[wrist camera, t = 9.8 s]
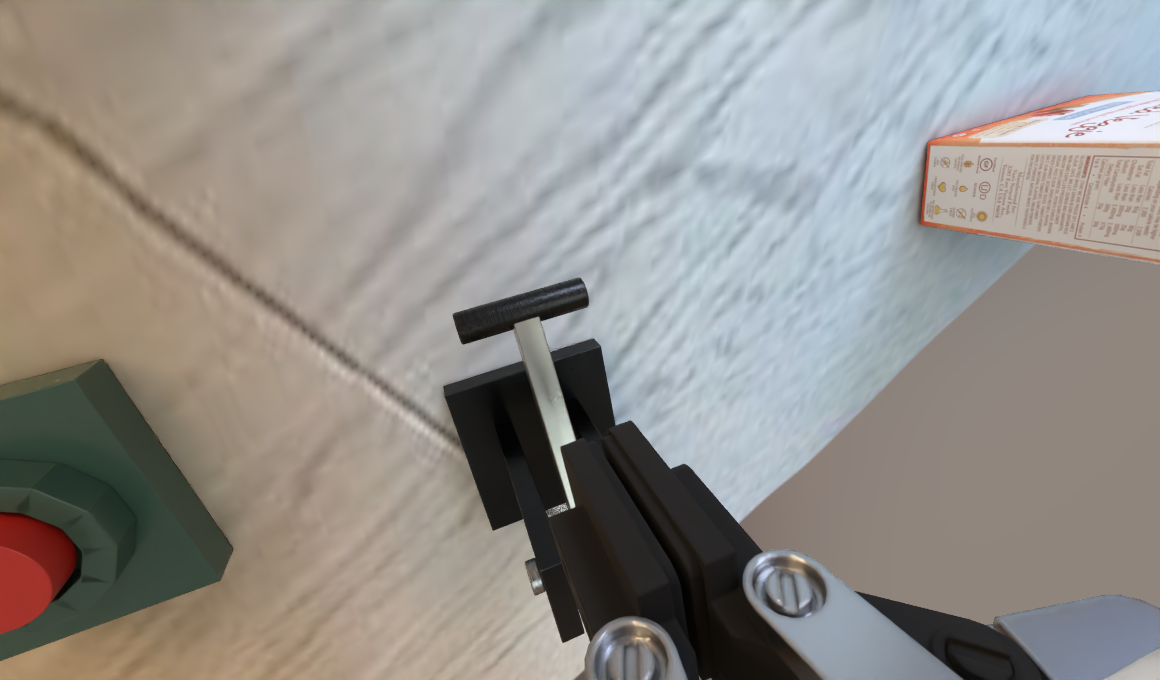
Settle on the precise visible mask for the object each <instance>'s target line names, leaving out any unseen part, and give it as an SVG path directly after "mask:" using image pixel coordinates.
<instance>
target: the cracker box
mask: <svg viewBox="0 0 1160 680" xmlns="http://www.w3.org/2000/svg"><path fill="white" fill-rule="evenodd" d="M920 224H921V225H923V226H930V227H936V228H942V229H948V230H955V231H961V232H966V233H972V234H978V235H983V236H989V237H995V238H1002V239H1008V240H1014V241H1020V242H1026V243H1032V244H1038V245H1044V246H1050V247H1056V248H1061V249H1067V250H1073V251H1080V252H1085V253H1091V254H1097V255H1103V256H1108V257H1115V258H1120V259H1127V260H1132V261H1138V262H1144V263H1150V264H1156V265H1160V91H1149V92H1133V93H1118V94H1103V95H1090V96H1085V97H1082V98H1078V99H1075V100H1072V101H1068V102H1064V103H1061V104H1057V105H1054V106H1050V107H1047V108H1043V109H1040V110H1036V111H1033V112H1029V113H1026V114H1022V115H1019V116H1015V117H1012V118H1008V119H1004V120H1001V121H997V122H994V123H990V124H987V125H983V126H980V127H976V128H973V129H969V130H966V131H962V132H959V133H955V134H952V135H948V136H944V137H941V138H937V139H934V140H931V141H929V142H928V148H927V161H926V170H925V181H924V191H923V200H922V210H921V223H920Z"/></svg>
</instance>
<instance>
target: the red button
mask: <svg viewBox="0 0 1160 680" xmlns="http://www.w3.org/2000/svg"><path fill="white" fill-rule="evenodd" d="M76 564H77V552H76V548H75V546H74V544H73V542H72V541H71V539H70V538H69V537H68V536H67V535H66V534H65V533H64V532H63V531H62V530H61V529H59V528H58V527H56V526H53V525H51V524H48V523H46V522H43V521H41V520H38V519H35V518H33V517H30V516H28V515H25V514H19V513H11V512H0V634H1V633H5V632H9V631H12V630H15V629H17V628H20V627H22V626H24V625H26V624H28V623H29V622H31V621H32V620H34V619H35V618H37V617H38V616H39V615H40V614H42V613H43V611H44V610H45V609H46V608H47V607H48V605H49V604H50V603H51V601H52V600H53V599H54V597H55V596H56V595H57V594H58V592H59V591H60V590H61V588H62V587H63V586H64V584H65V583H66V582H67V580H68V579H69V578H70V576H71V575H72V573H73V572H74V570H75V567H76Z"/></svg>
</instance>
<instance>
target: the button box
mask: <svg viewBox="0 0 1160 680" xmlns="http://www.w3.org/2000/svg"><path fill="white" fill-rule="evenodd" d="M0 512H11V513H19V514H25V515H28V516H30V517H33V518H35V519H38V520H41V521H43V522H46V523H48V524H51V525H53V526H56V527H58V528H59V529H61V530H62V531H63V532H64V533H65V534H66V535H67V536H68V537H69V538H70V539H71V541H72V542H73V544H74V546H75V548H76V552H77V564H76V567H75V570H74V572H73V573H72V575H71V576H70V578H69V579H68V580H67V582H66V583H65V584H64V586H63V587H62V588H61V590H60V591H59V592H58V594H57V595H56V596H55V597H54V599H53V600H52V601H51V603H50V604H49V605H48V607H47V608H46V609H45V610H44V611H43V613H42V614H40V615H39V616H38V617H37V618H35V619H34V620H32V621H31V622H29V623H28V624H26V625H24V626H22V627H20V628H17V629H15V630H12V631H9V632H5V633H1V634H0V661H2V660H4V659H7V658H10V657H13V656H15V655H18V654H21V653H24V652H26V651H29V650H32V649H35V648H37V647H40V646H43V645H46V644H48V643H51V642H54V641H56V640H59V639H62V638H65V637H67V636H70V635H73V634H76V633H78V632H81V631H84V630H87V629H89V628H92V627H95V626H98V625H100V624H103V623H106V622H109V621H111V620H114V619H117V618H120V617H122V616H125V615H128V614H130V613H133V612H136V611H139V610H141V609H144V608H147V607H150V606H152V605H155V604H158V603H161V602H163V601H166V600H169V599H172V598H174V597H177V596H180V595H183V594H185V593H188V592H191V591H194V590H196V589H199V588H202V587H205V586H207V585H210V584H213V583H215V582H218V581H220V580H221V578H222V576H223V573H224V571H225V568H226V566H227V564H228V561H229V559H230V556H231V554H232V551H233V548H232V547H231V545H230V544H229V542H228V541H227V539H226V538H225V537H224V535H223V534H222V532H221V531H220V529H219V528H218V526H217V525H216V523H215V522H214V521H213V519H212V518H211V516H210V515H209V513H208V512H207V510H206V509H205V507H204V506H203V505H202V503H201V502H200V500H199V499H198V497H197V496H196V494H195V493H194V491H193V490H192V488H191V487H190V486H189V484H188V483H187V481H186V480H185V478H184V477H183V475H182V474H181V472H180V471H179V470H178V468H177V467H176V465H175V464H174V462H173V461H172V459H171V458H170V456H169V455H168V454H167V452H166V451H165V449H164V448H163V446H162V445H161V443H160V442H159V440H158V439H157V437H156V436H155V435H154V433H153V432H152V430H151V429H150V427H149V426H148V424H147V423H146V421H145V420H144V419H143V417H142V416H141V414H140V413H139V411H138V410H137V408H136V407H135V405H134V404H133V403H132V401H131V400H130V398H129V397H128V395H127V394H126V392H125V391H124V389H123V388H122V386H121V385H120V384H119V382H118V381H117V379H116V378H115V376H114V375H113V373H112V372H111V370H110V369H109V368H108V366H107V365H106V363H105V362H104V360H103V359H100V360H96V361H92V362H89V363H85V364H81V365H77V366H73V367H70V368H66V369H62V370H58V371H55V372H51V373H47V374H43V375H40V376H36V377H32V378H28V379H25V380H21V381H17V382H13V383H10V384H6V385H2V386H0Z"/></svg>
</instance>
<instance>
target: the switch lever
mask: <svg viewBox="0 0 1160 680" xmlns="http://www.w3.org/2000/svg"><path fill="white" fill-rule="evenodd" d="M588 305H589V297H588V293H587V289H586V287H585V284H584V282H583V281H582V279H581V278H575V279H572V280H568V281H565V282H561V283H558V284H554V285H551V286H547V287H544V288H540V289H537V290H533V291H530V292H526V293H523V294H519V295H516V296H512V297H509V298H505V299H502V300H498V301H495V302H491V303H488V304H484V305H481V306H477V307H474V308H470V309H467V310H463V311H460V312H456V313H454V314H453V319H454V322H455V325H456V329H457V332H458V335H459V338H460V341H461V343H462V344H467V343H470V342H474V341H477V340H480V339H484V338H487V337H490V336H494V335H497V334H500V333H504V332H507V331H510V330H513V331H514V334H515V337H516V341H517V344H518V347H519V350H520V354H521V357H522V360H523V364H524V367H525V370H526V373H527V377H528V380H529V383H530V387H531V390H532V393H533V396H534V400H535V403H536V406H537V409H538V413H539V416H540V419H541V423H542V426H543V429H544V432H545V436H546V439H547V442H548V446H549V449H550V452H551V455H552V459H553V462H554V465H555V469H556V472H557V475H558V478H559V482H560V485H561V488H562V492H563V495H564V498H565V501H566V505H567V508H568V510H569V509H572V508H574V507H575V503H574V500H573V496H572V492H571V488H570V485H569V481H568V477H567V473H566V469H565V466H564V462H563V458H562V454H561V450H560V446H563V445H565V444H568V443H571V442H573V441H576V438H575V434H574V431H573V428H572V424H571V421H570V418H569V414H568V411H567V408H566V404H565V401H564V397H563V394H562V391H561V387H560V384H559V381H558V377H557V374H556V371H555V367H554V364H553V361H552V357H551V354H550V351H549V347H548V344H547V340H546V337H545V334H544V330H543V327H542V324H541V321H543V320H547V319H550V318H553V317H557V316H560V315H563V314H567V313H570V312H573V311H577V310H580V309H583V308H587V307H588Z"/></svg>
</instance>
